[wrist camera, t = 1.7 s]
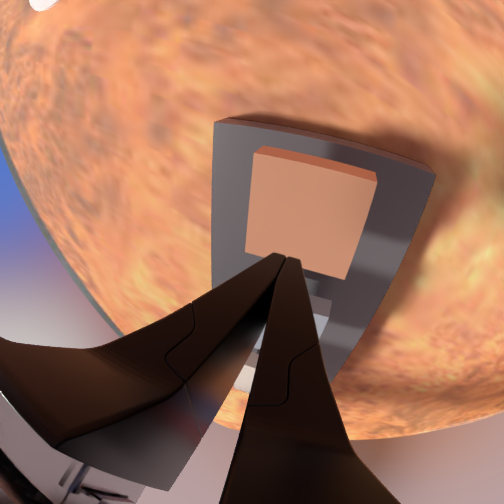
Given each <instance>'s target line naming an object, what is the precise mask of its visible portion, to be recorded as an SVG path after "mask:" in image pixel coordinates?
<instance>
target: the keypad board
mask: <svg viewBox="0 0 504 504" xmlns="http://www.w3.org/2000/svg"><path fill="white" fill-rule="evenodd" d="M262 146H269V147H274V148H279V149H284V150H289V151H294V152H299V153H303V154H308V155H312V156H316V157H321V158H325V159H329V160H333V161H337V162H341V163H344V164H348V165H352V166H356V167H359V168H363V169H366V170H369V171H373V172H375V173H376V178H377V186H376V189H375V193H374V196H373V200H372V203H371V206H370V209H369V212H368V215H367V219H366V222H365V225H364V228H363V231H362V234H361V236H360V239H359V242H358V245H357V248H356V251H355V253H354V256H353V259H352V262H351V264H350V267H349V270H348V272H347V275H346V277H345V280H343V279H339V278H336V277H332V276H328V275H325V274H321V273H318V272H314V271H311V270H307V269H304V268H303V272H304V276H305V280H306V284H307V289H308V293H309V294H310V295H313V296H317V297H320V298H324V299H327V300H331V301H332V304H331V309H330V315H329V319H328V321H327V323H326V325H325V328H324V330H323V332H322V334H321V336H320V339H319V344H320V346H321V351H322V356H323V360H324V364H325V369H326V373H327V376H328V379H329V382H330V383H331V382H332V380H333V379H334V377H335V376H336V374H337V373H338V372H339V370H340V369H341V367H342V366H343V364H344V363H345V361H346V360H347V358H348V357H349V355H350V353H351V352H352V350H353V349H354V347H355V346H356V344H357V342H358V341H359V339H360V338H361V336H362V334H363V333H364V331H365V329H366V328H367V326H368V324H369V323H370V321H371V319H372V317H373V316H374V314H375V312H376V310H377V309H378V307H379V305H380V303H381V301H382V299H383V298H384V296H385V294H386V292H387V290H388V288H389V286H390V284H391V282H392V280H393V278H394V276H395V274H396V272H397V270H398V268H399V266H400V264H401V262H402V260H403V258H404V255H405V253H406V251H407V249H408V247H409V244H410V242H411V240H412V238H413V235H414V233H415V230H416V228H417V226H418V223H419V221H420V218H421V216H422V213H423V211H424V208H425V205H426V203H427V200H428V197H429V194H430V192H431V189H432V186H433V183H434V180H435V177H436V174H435V173H434V172H433V170H432V169H431V168H430V167H429V166H428V165H425V164H422V163H420V162H417V161H414V160H411V159H409V158H406V157H403V156H400V155H397V154H394V153H391V152H388V151H384V150H381V149H378V148H374V147H371V146H368V145H364V144H361V143H357V142H353V141H349V140H346V139H342V138H338V137H334V136H329V135H325V134H321V133H316V132H312V131H307V130H302V129H297V128H292V127H286V126H280V125H275V124H268V123H262V122H255V121H248V120H240V119H232V118H225V119H222V120H219V121H216V122H214V134H213V162H212V213H211V263H212V289H214V288H215V287H217V286H219V285H220V284H222V283H224V282H225V281H227V280H229V279H230V278H232V277H233V276H235V275H237V274H238V273H240V272H242V271H243V270H245V269H247V268H248V267H250V266H251V265H253V264H255V263H256V262H258V261H260V260H261V259H263V258H264V257H261V256H257V255H254V254H250V253H247V252H245V245H246V233H247V222H248V211H249V200H250V188H251V177H252V167H253V156H254V152H256V151H257V150H258V149H260V148H261V147H262ZM258 351H259V349H256V348H253V350H252V352H253V353H256V354H258Z"/></svg>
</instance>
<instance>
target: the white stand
mask: <svg viewBox="0 0 504 504" xmlns="http://www.w3.org/2000/svg"><path fill="white" fill-rule="evenodd" d="M29 1H30V4H31V6H32V8H33V9H34V10H36V11H44V10H48V9H50V8H51V7H53V6H54V5H56V4H57V3H58V2H59V1H61V0H29Z"/></svg>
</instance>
